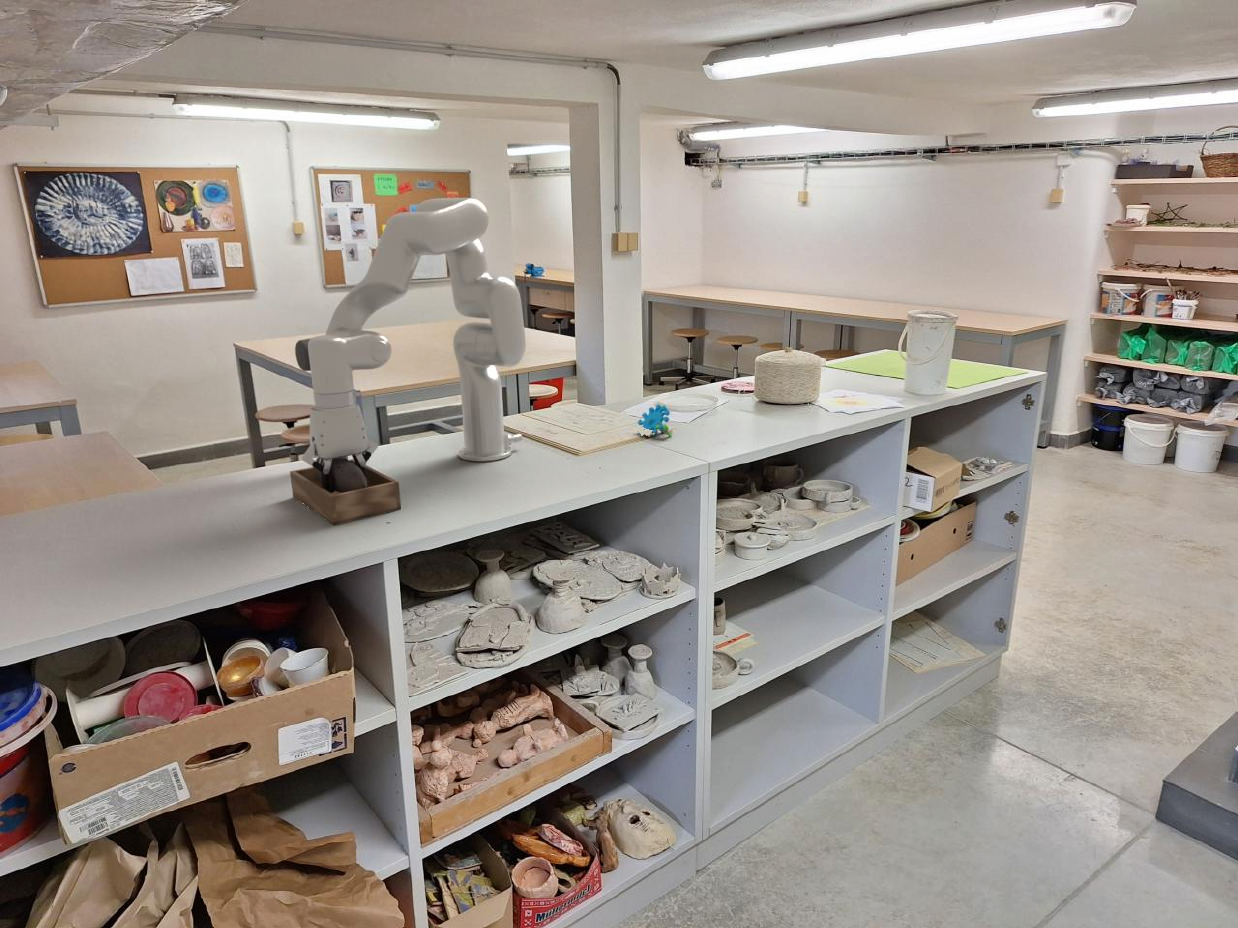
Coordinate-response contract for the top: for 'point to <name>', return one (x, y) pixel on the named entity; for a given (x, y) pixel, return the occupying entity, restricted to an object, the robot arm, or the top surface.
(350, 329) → the robot arm
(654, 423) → the blue bumpy cluster
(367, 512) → the box
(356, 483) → the perforated stone tool
